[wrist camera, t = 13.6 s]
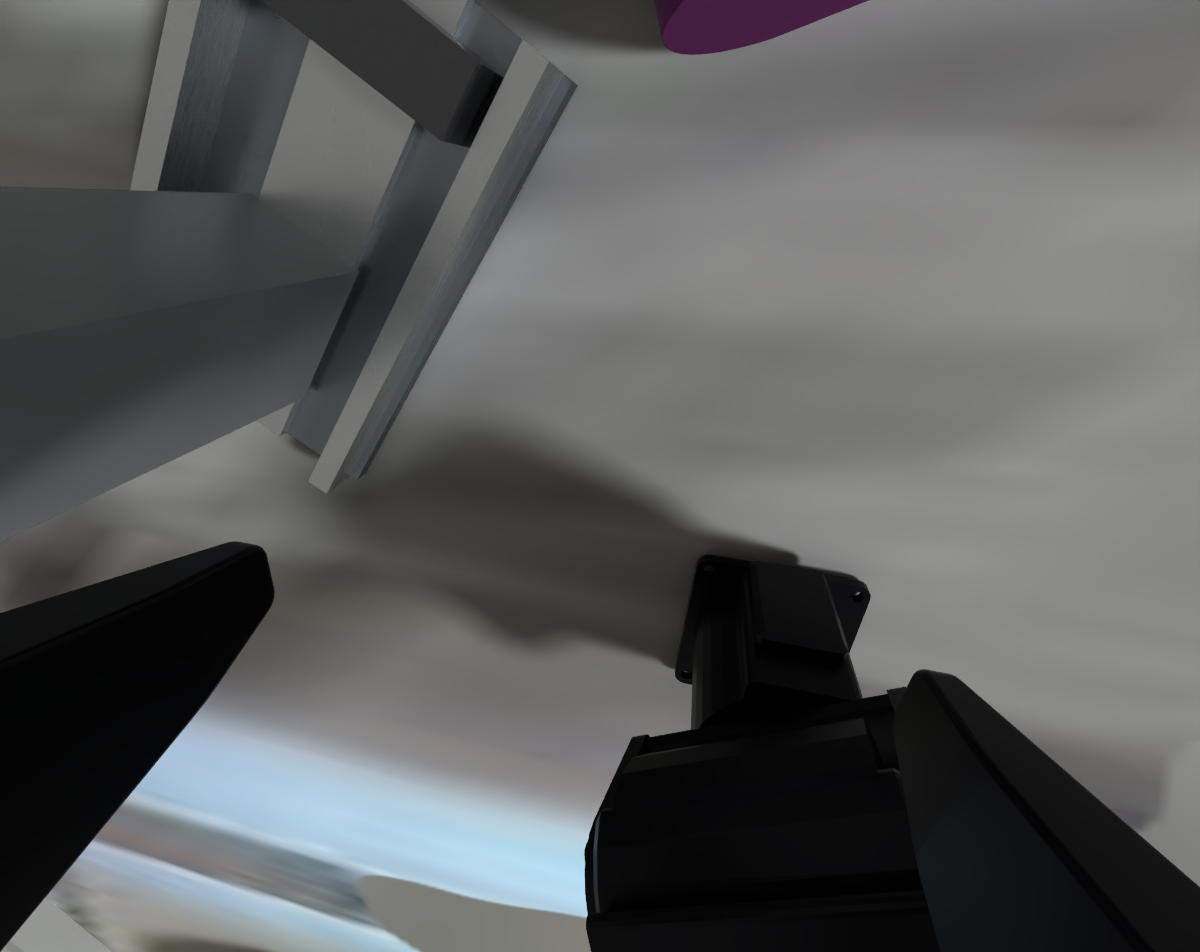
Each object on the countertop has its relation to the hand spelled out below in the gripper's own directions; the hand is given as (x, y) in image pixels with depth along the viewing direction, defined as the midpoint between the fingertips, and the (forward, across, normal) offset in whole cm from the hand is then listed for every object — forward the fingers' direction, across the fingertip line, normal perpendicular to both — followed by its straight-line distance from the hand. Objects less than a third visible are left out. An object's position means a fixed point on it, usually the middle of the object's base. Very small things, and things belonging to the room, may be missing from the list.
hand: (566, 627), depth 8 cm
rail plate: (+13, +12, -4) cm, 18 cm away
